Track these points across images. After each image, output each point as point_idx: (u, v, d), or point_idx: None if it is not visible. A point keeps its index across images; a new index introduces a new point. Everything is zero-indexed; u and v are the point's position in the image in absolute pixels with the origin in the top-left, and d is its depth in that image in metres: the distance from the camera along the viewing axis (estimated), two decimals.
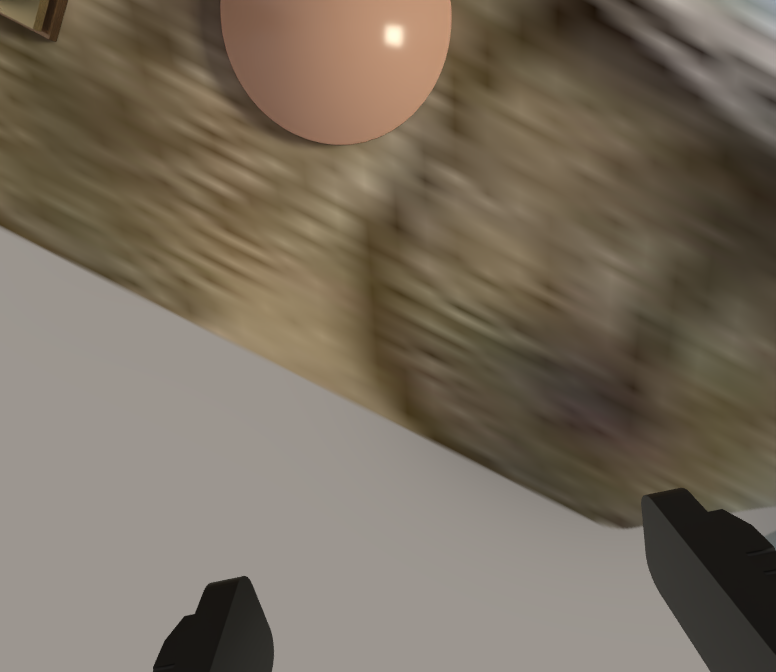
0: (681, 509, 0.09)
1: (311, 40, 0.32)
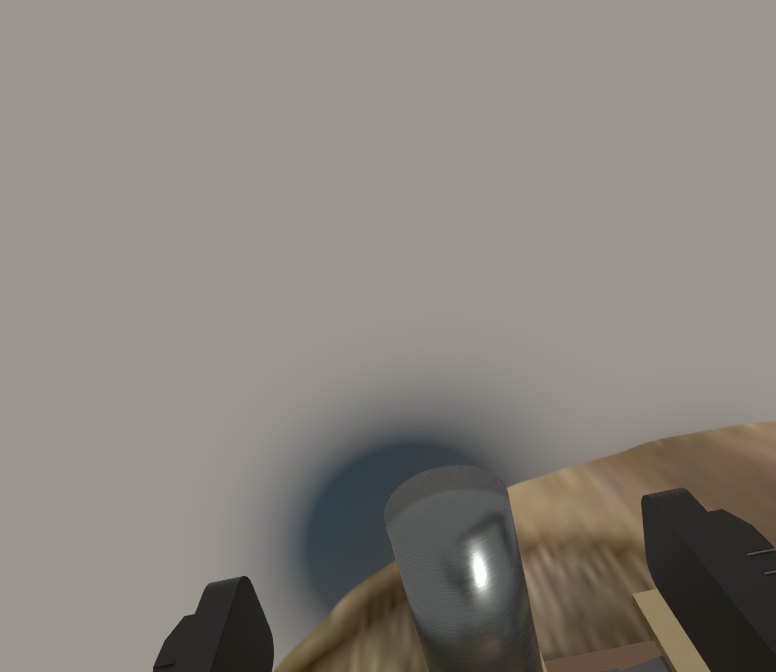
0: (681, 509, 0.09)
1: None
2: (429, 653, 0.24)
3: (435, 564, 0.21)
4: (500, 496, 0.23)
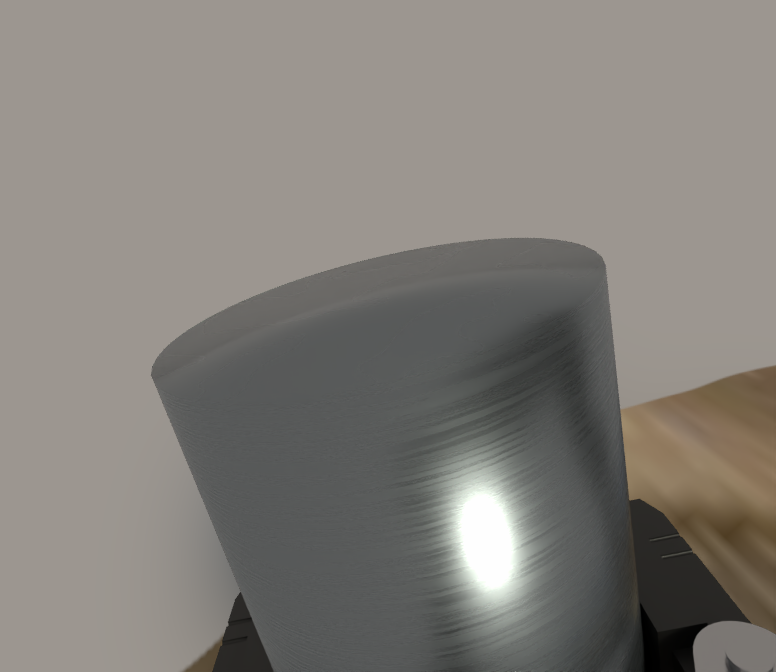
0: None
1: None
2: None
3: (294, 481, 0.05)
4: (568, 259, 0.06)
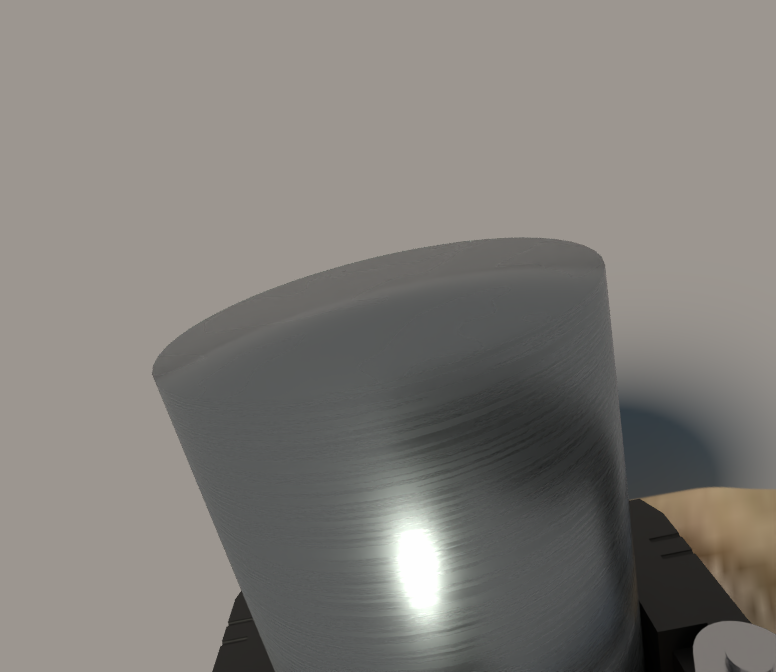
0: None
1: None
2: None
3: (295, 478, 0.05)
4: (568, 258, 0.06)
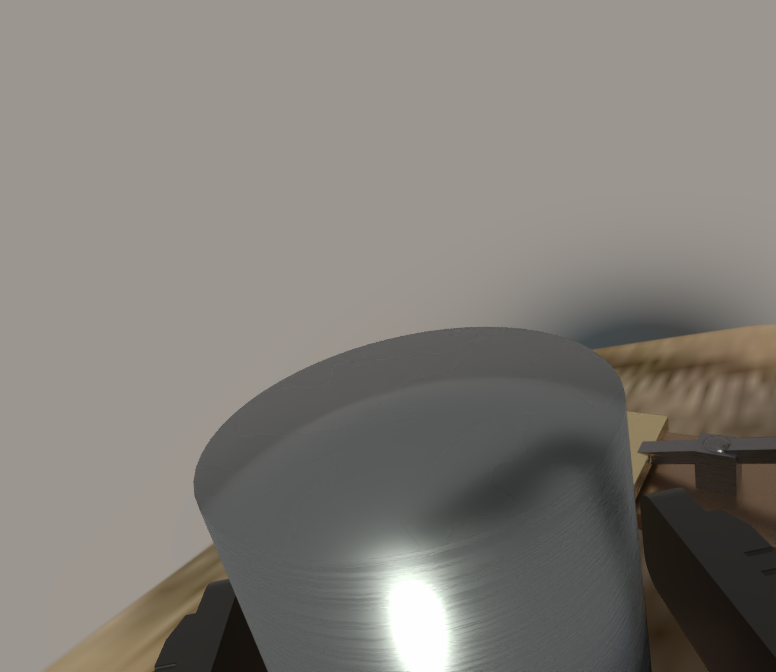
0: (679, 509, 0.09)
1: None
2: None
3: (340, 624, 0.05)
4: (588, 377, 0.07)
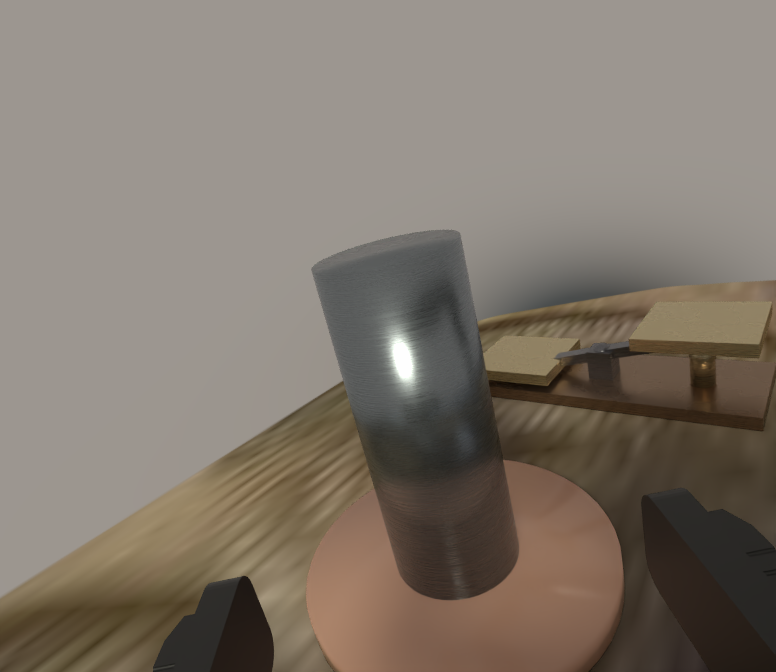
0: (681, 509, 0.09)
1: None
2: (367, 441, 0.20)
3: (365, 293, 0.17)
4: (450, 236, 0.19)
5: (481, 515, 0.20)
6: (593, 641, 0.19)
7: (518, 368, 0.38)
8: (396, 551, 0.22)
